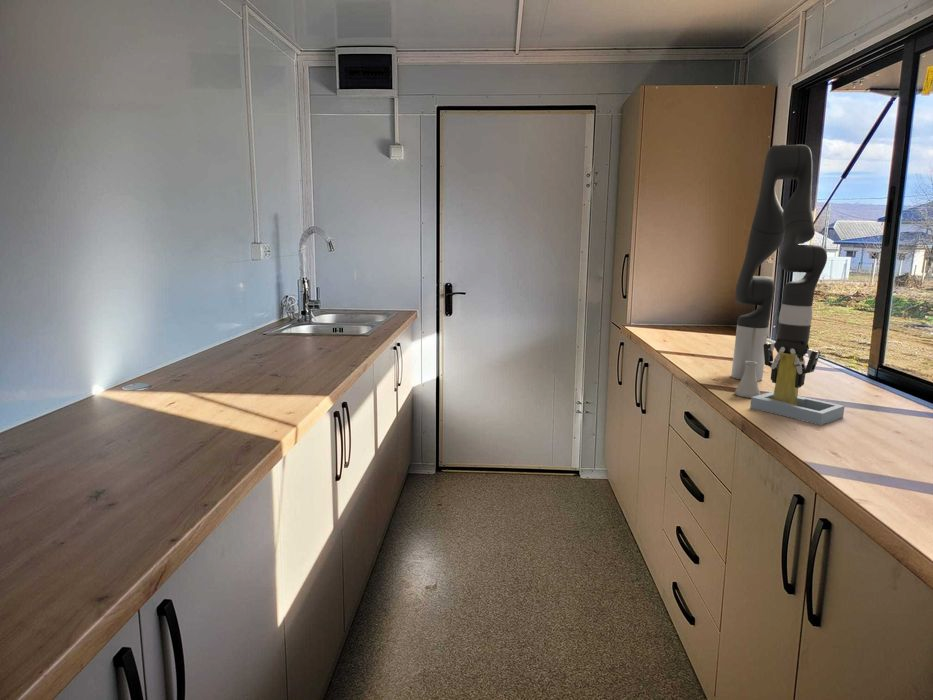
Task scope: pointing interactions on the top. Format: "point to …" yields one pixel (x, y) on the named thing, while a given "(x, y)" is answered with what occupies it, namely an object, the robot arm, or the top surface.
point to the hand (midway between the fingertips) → (786, 384)
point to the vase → (786, 380)
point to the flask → (748, 382)
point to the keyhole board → (799, 408)
